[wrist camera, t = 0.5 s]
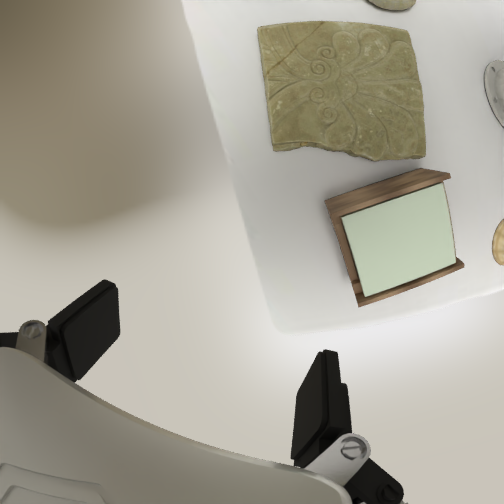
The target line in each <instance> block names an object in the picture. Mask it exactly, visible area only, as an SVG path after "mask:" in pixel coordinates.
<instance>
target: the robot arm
mask: <svg viewBox="0 0 504 504" xmlns="http://www.w3.org/2000/svg"><path fill="white" fill-rule="evenodd" d="M485 89H486V93H487V97H488V100H489V103H490V105H491V107H492V110H493V112H494V113H495V115H496V117H497V119H498V120H499V122H500V123H501V124H502V126H503V127H504V61H501V60H497V61H493V62H491V63H490V64H489V65H488V66H487V68H486V71H485ZM119 335H120V320H119V301H118V288H117V287H116V285H115V284H114V283H112V282H110V281H108V280H102V281H101V282H99V283H98V284H97V285H95V286H94V287H92V288H91V289H90V290H88V291H87V292H86V293H84V294H83V295H82V296H80V297H79V298H77V299H76V300H75V301H73V302H72V303H71V304H69V305H68V306H67V307H66V308H64V309H63V310H62V311H60V312H59V313H58V314H56V316H54V317H53V318H51V319H50V320H49V321H48V325H47V326H45V324H44V323H43V322H41V321H38V320H30V321H27V322H25V323H24V324H22V326H21V327H20V329H19V332H12V333H0V504H404V502H403V501H402V499H403V495H404V493H403V488H402V486H401V484H400V483H399V482H398V481H396V480H395V479H394V478H392V476H390V475H389V474H388V473H387V472H385V471H384V470H383V469H382V468H381V467H379V466H378V465H377V464H376V463H375V462H373V461H372V460H371V459H370V458H369V456H370V452H371V449H370V445H369V443H368V441H367V440H366V439H365V438H364V437H362V436H360V435H357V434H354V433H352V426H351V415H350V405H349V396H348V388H347V385H346V384H345V383H341V377H340V368H339V359H338V353H337V352H335V351H330V350H323V352H318V354H317V356H316V358H315V360H314V362H313V364H312V366H311V368H310V370H309V371H308V373H307V375H306V377H305V379H304V381H303V383H302V385H301V386H300V388H299V390H298V393H297V396H296V407H295V418H294V430H293V439H292V448H291V459H293V460H294V466H298V467H300V468H297V467H294V466H290V465H285V464H281V463H276V462H272V461H266V460H262V459H257V458H253V457H249V456H245V455H242V454H238V453H234V452H230V451H226V450H223V449H219V448H216V447H213V446H209V445H207V444H203V443H200V442H197V441H194V440H192V439H189V438H186V437H183V436H181V435H178V434H175V433H173V432H170V431H167V430H165V429H163V428H160V427H158V426H155V425H153V424H151V423H149V422H146V421H144V420H142V419H140V418H138V417H135V416H133V415H131V414H129V413H127V412H125V411H123V410H121V409H119V408H117V407H115V406H113V405H112V404H110V403H108V402H106V401H104V400H102V399H101V398H99V397H97V396H95V395H94V394H92V393H90V392H88V391H87V390H85V389H83V388H82V387H80V386H79V385H77V384H75V382H76V381H77V380H80V379H81V378H82V377H83V376H84V375H85V374H86V373H87V372H88V370H89V369H90V368H91V367H92V366H93V365H94V364H95V363H96V362H97V361H98V359H99V358H100V357H101V356H102V355H103V354H104V353H105V352H106V351H107V349H108V348H109V347H110V346H111V345H112V344H113V343H114V342H115V341H116V340H117V339H118V337H119ZM405 504H408V503H405Z"/></svg>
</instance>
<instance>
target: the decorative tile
mask: <svg viewBox="0 0 504 504" xmlns="http://www.w3.org/2000/svg"><path fill="white" fill-rule="evenodd" d="M257 31H258V40H259V46H260V53H261V63H262V70H263V76H264V82H265V93H266V100H267V109H268V117H269V123H270V131H271V139H272V145H273V151H289V150H292V149H297V148H300V147H303V146H306V147H308V146H310V147H318V148H322V149H325V150H327V151H330V150H331V151H344V152H346V153H348V154H349V155H351V156H354V157H358V156H360V157H364V158H366V159H369V160H372V161H379V160H401V159H420V158H422V157H425V155H426V141H425V124H424V114H423V111H424V104H423V94H422V87H421V83H420V81H419V76H418V71H417V62H416V57H415V53H414V50H413V47H412V44H411V39H410V35H409V33H408V31H406V30H402V29H398V28H392V27H386V26H380V25H373V24H365V23H355V22H333V21H307V22H293V23H282V24H274V25H267V26H261V27H258V29H257Z"/></svg>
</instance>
